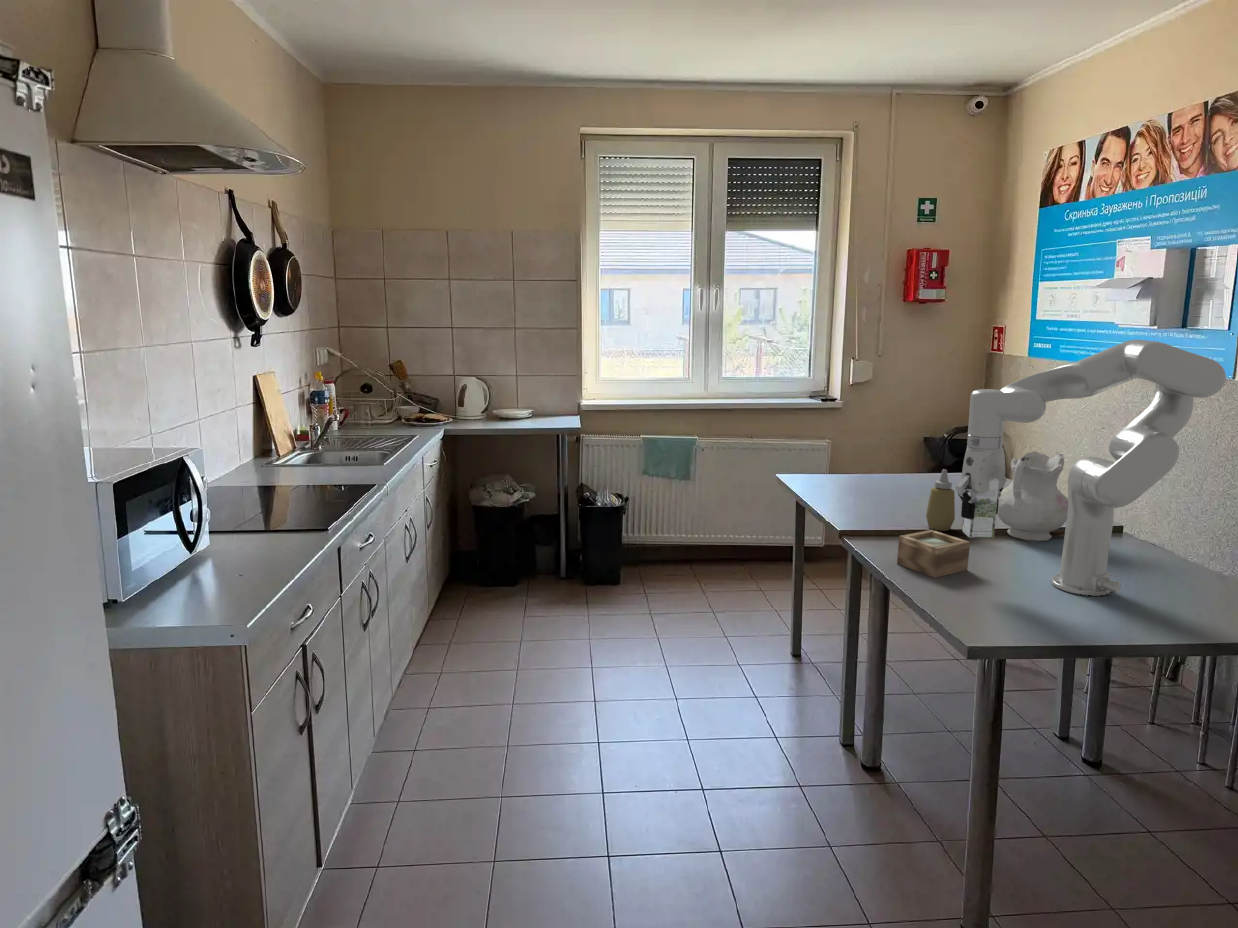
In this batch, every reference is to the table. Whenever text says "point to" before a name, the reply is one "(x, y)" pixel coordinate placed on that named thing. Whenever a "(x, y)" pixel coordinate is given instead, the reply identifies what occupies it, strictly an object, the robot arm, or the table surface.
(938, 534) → the wooden box
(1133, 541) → the table surface
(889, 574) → the table surface
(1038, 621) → the table surface
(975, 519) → the syrup box
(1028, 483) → the ceramic pitcher
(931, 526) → the squeeze bottle
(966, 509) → the robot arm
